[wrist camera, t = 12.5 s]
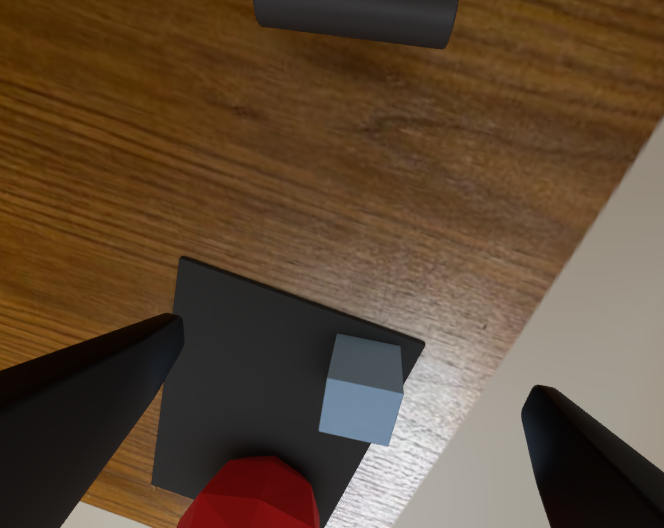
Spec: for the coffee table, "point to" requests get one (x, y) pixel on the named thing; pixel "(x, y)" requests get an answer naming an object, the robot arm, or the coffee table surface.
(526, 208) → the coffee table surface
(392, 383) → the block
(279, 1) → the drawer
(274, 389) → the mat
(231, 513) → the apple
